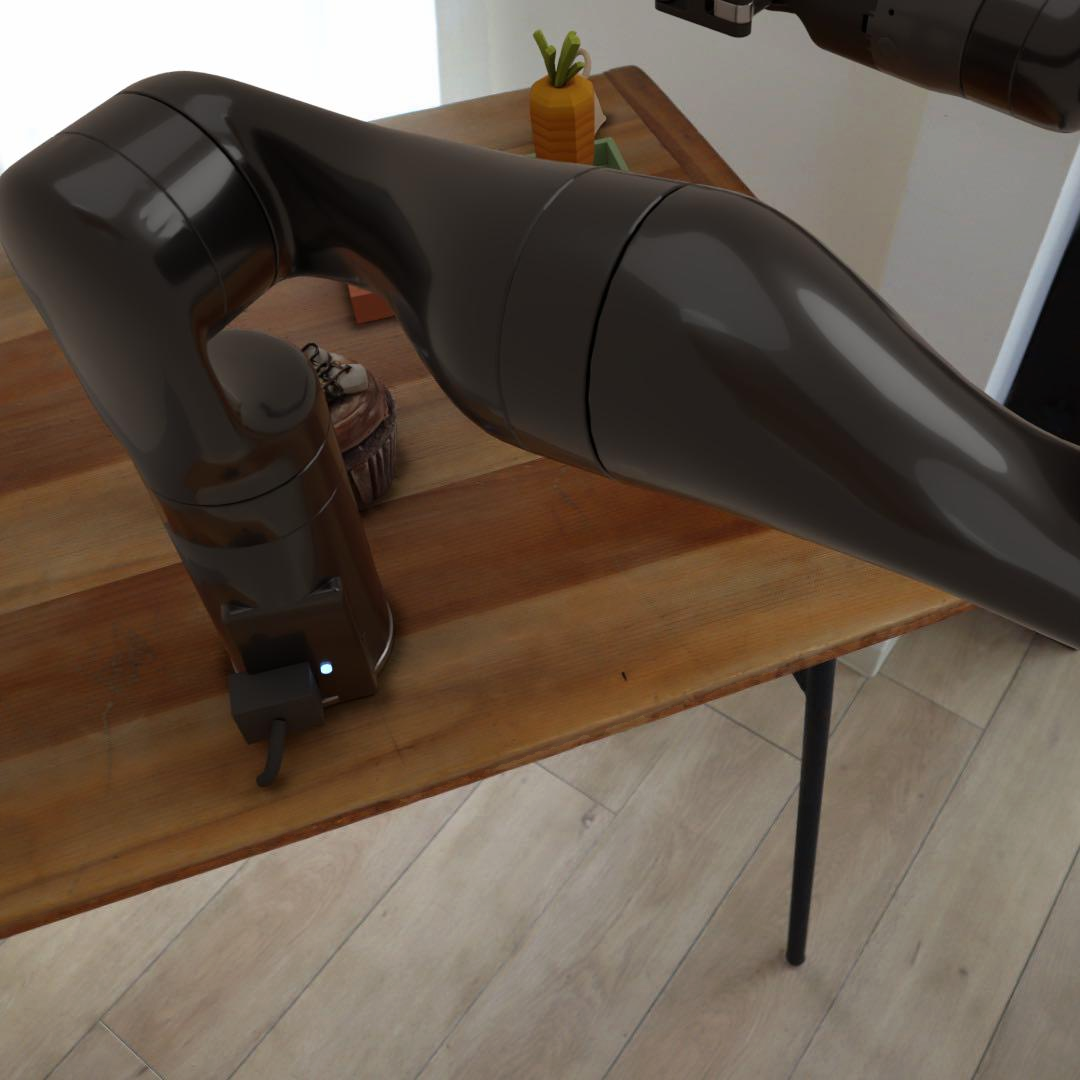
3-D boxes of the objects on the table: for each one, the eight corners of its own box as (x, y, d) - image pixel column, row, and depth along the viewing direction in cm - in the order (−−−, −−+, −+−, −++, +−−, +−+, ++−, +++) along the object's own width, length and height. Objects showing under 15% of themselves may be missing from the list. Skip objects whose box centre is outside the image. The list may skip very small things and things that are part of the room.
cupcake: (439, 452, 77) (415, 335, 70) (346, 552, 72) (309, 438, 65) (328, 402, 81) (294, 286, 73) (233, 494, 76) (185, 380, 69)
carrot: (528, 209, 93) (510, 24, 81) (587, 192, 94) (577, 7, 82) (551, 244, 90) (536, 57, 78) (611, 226, 90) (605, 38, 79)
